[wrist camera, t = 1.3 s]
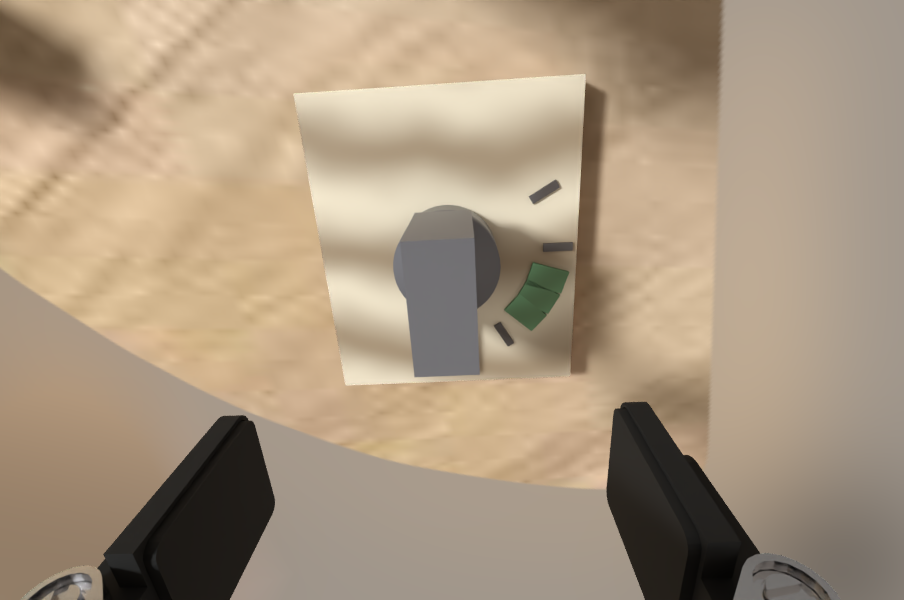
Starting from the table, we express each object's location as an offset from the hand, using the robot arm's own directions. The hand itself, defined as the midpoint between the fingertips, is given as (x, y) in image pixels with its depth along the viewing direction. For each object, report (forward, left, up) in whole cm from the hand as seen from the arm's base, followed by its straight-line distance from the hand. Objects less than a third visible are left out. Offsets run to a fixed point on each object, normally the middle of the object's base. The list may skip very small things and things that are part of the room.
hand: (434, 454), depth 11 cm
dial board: (0, 0, -20) cm, 20 cm away
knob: (+2, 0, -17) cm, 17 cm away
